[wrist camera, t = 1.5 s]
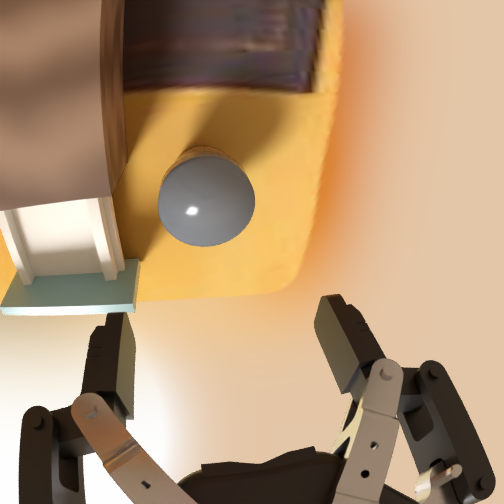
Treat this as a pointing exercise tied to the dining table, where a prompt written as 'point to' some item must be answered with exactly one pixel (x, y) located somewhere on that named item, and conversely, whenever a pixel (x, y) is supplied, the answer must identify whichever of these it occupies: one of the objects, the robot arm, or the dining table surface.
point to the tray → (68, 260)
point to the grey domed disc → (205, 199)
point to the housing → (60, 101)
